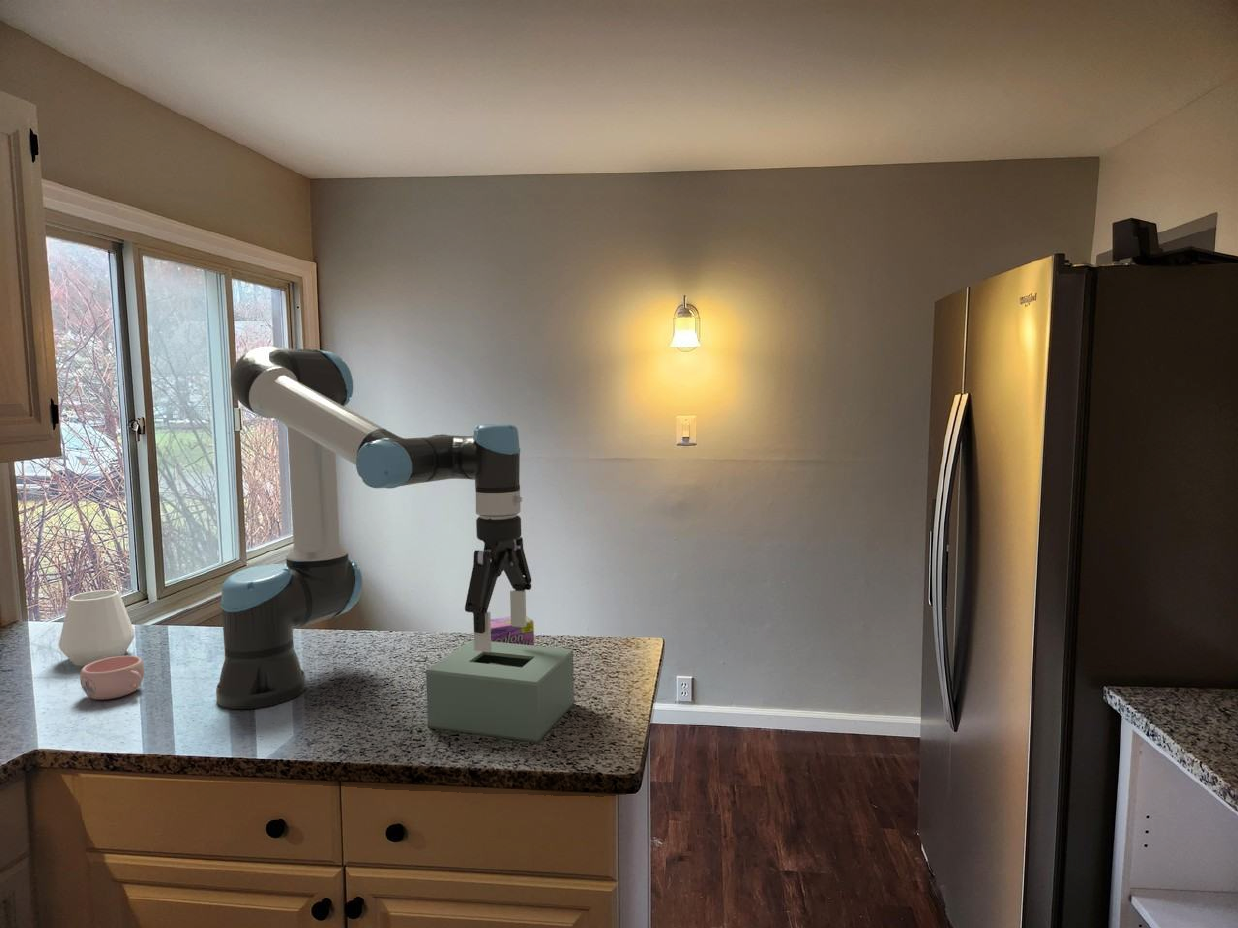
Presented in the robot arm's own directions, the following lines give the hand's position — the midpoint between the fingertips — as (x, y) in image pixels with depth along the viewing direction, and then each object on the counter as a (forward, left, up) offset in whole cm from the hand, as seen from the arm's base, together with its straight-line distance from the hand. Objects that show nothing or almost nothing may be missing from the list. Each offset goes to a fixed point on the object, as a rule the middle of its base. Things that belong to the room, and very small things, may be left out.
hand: (501, 638), depth 128 cm
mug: (-74, -12, -14) cm, 76 cm away
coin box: (0, 0, -14) cm, 14 cm away
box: (-7, +15, -14) cm, 22 cm away
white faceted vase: (-97, +2, -14) cm, 98 cm away
